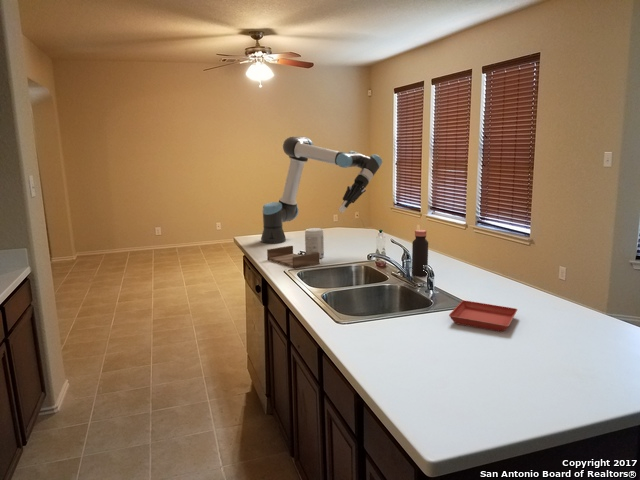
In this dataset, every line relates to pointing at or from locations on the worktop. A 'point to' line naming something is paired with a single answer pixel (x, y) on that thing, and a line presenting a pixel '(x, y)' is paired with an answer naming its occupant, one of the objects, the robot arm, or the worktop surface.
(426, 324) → the worktop surface
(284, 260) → the walnut tray
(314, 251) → the supplement tub
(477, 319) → the plant saucer
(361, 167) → the robot arm
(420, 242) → the bottle
